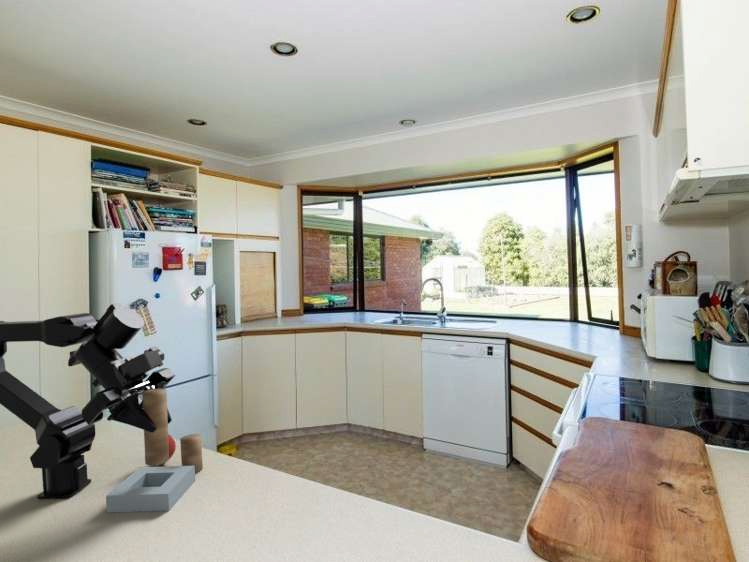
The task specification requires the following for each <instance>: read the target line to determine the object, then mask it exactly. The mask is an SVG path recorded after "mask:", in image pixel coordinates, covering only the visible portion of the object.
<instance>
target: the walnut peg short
mask: <svg viewBox="0 0 749 562" xmlns="http://www.w3.org/2000/svg"><path fill="white" fill-rule="evenodd" d="M179 440H180V458H181V466H195V473H197V474H199V473H200V471H201V470H202V469H204V467H203V464H204V463H203V449H202V448H203V447H202V436H201V434H198V433H191V434H188V435H184V436H182V437H180V438H179ZM202 471H203V470H202ZM202 471H201V472H202ZM198 472H199V473H198Z"/></svg>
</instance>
